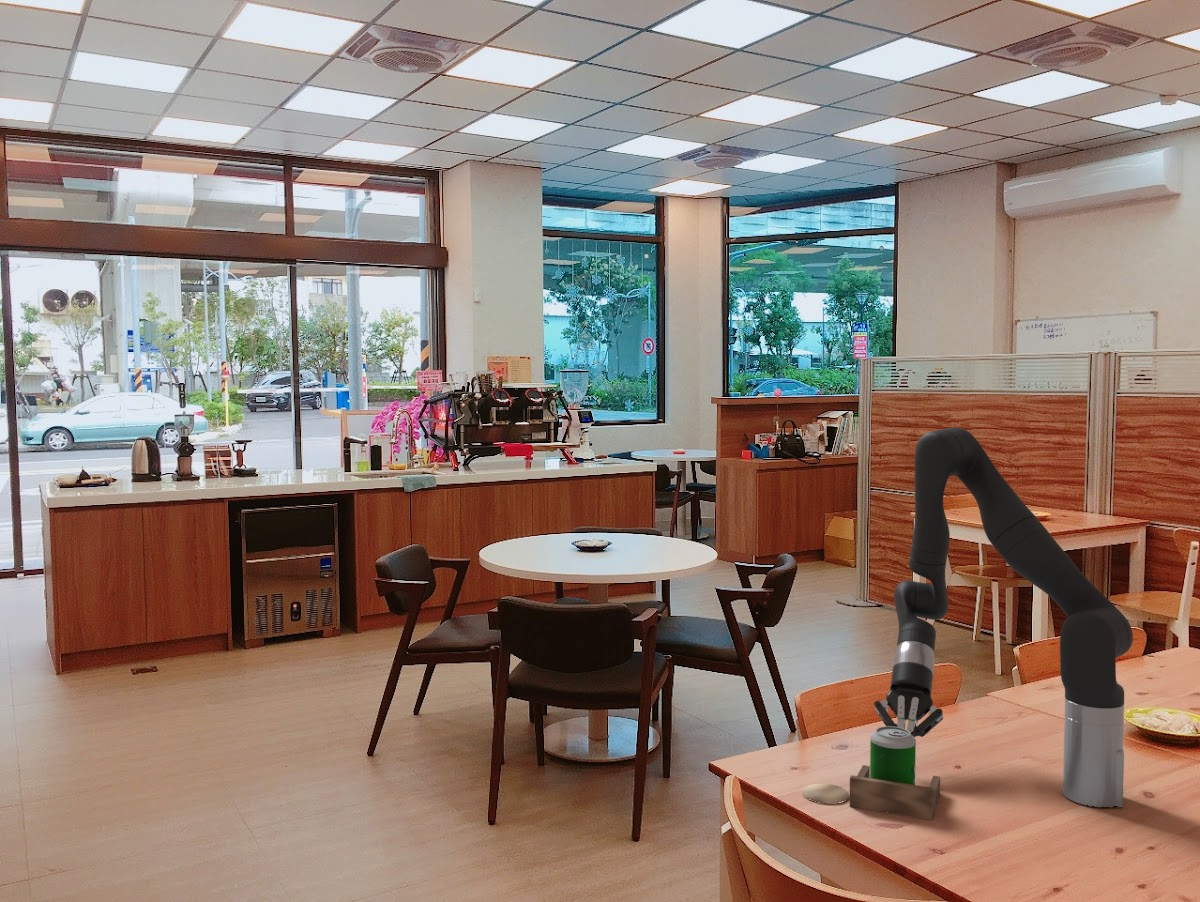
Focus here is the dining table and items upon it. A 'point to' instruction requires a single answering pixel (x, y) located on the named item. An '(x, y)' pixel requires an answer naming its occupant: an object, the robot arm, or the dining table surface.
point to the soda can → (893, 755)
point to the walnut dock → (894, 795)
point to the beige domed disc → (825, 793)
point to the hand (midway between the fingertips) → (903, 753)
